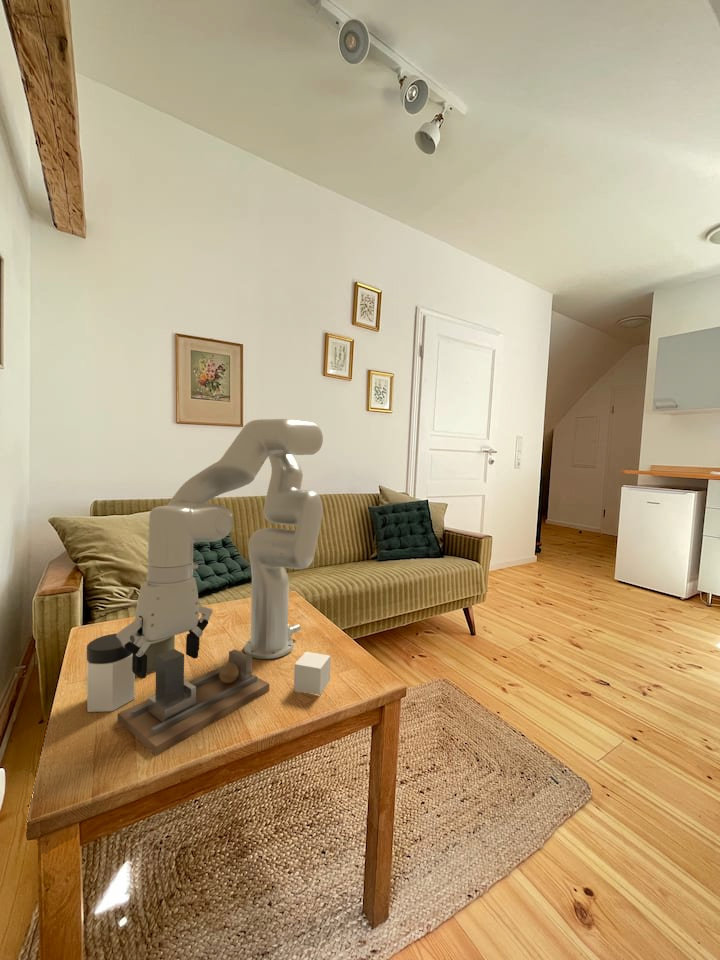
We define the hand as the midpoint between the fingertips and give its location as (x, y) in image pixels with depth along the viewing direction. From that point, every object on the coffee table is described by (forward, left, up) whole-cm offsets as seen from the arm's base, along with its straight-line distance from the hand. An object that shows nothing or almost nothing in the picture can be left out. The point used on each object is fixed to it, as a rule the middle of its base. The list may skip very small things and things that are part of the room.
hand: (167, 665), depth 72 cm
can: (-9, -25, -11) cm, 29 cm away
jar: (+3, -15, -11) cm, 19 cm away
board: (-7, 0, -11) cm, 12 cm away
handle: (-1, 0, -9) cm, 9 cm away
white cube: (-26, +13, -11) cm, 31 cm away
